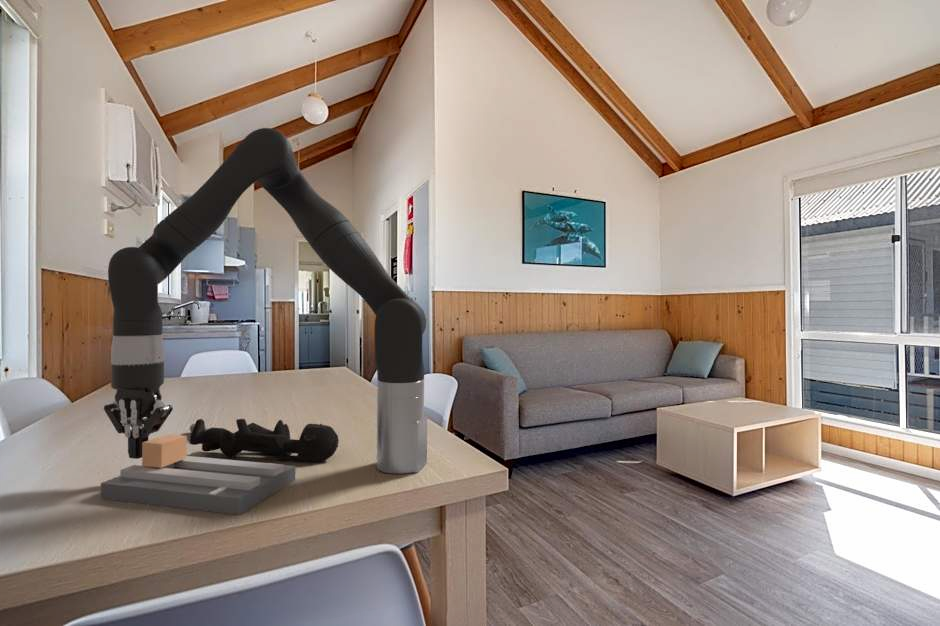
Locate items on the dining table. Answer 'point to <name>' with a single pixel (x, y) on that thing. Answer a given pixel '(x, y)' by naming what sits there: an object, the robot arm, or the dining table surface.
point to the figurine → (269, 441)
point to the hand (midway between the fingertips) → (138, 457)
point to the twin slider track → (200, 484)
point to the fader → (164, 451)
